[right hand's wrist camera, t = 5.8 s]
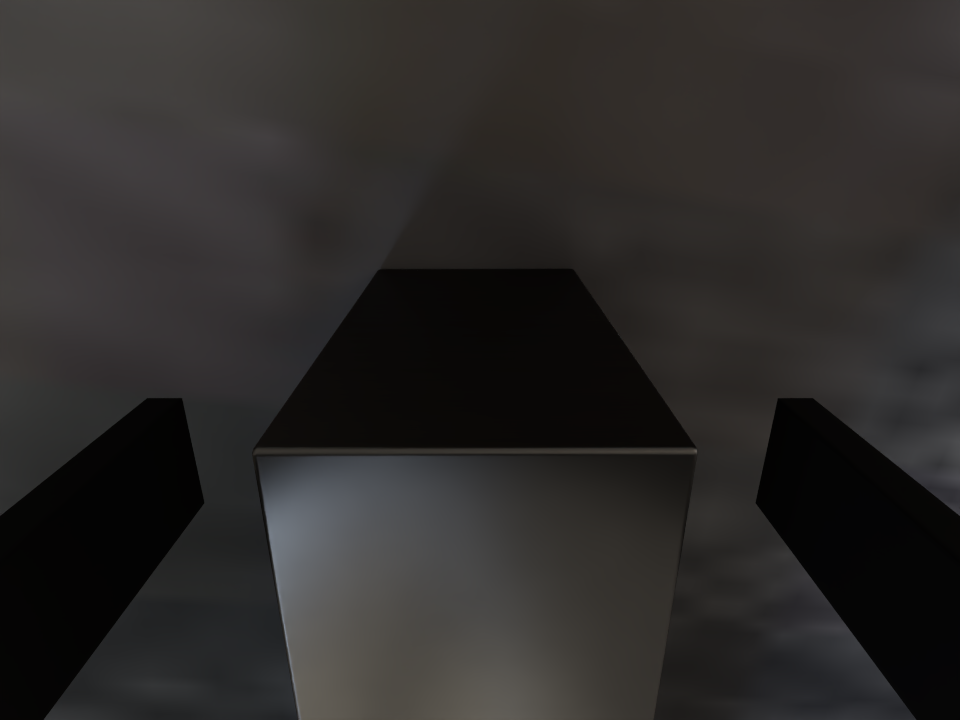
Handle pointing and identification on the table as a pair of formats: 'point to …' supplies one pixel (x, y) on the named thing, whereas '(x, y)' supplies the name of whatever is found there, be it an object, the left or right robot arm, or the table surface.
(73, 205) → the table surface
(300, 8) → the table surface
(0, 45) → the table surface
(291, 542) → the bar
